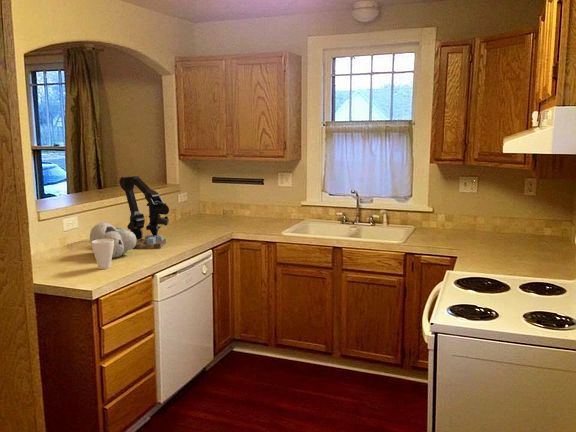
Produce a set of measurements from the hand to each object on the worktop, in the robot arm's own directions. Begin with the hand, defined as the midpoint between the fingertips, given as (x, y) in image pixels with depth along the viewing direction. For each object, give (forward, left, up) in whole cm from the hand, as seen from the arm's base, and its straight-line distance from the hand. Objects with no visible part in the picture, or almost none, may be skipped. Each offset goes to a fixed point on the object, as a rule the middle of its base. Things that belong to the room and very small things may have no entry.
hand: (155, 238), depth 321 cm
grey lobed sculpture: (-16, -34, -2) cm, 38 cm away
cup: (-11, -61, -2) cm, 62 cm away
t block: (0, -7, -2) cm, 7 cm away
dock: (0, -13, -2) cm, 13 cm away
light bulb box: (-20, -13, -2) cm, 24 cm away
